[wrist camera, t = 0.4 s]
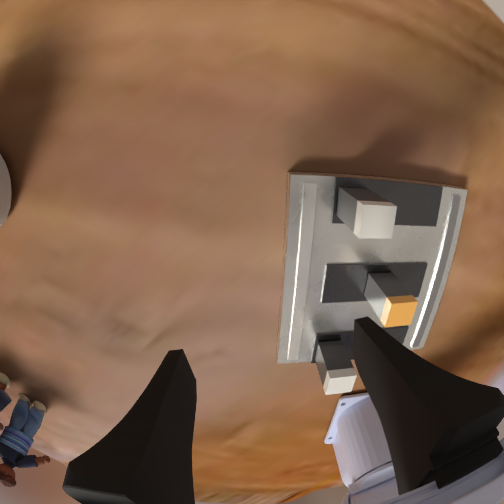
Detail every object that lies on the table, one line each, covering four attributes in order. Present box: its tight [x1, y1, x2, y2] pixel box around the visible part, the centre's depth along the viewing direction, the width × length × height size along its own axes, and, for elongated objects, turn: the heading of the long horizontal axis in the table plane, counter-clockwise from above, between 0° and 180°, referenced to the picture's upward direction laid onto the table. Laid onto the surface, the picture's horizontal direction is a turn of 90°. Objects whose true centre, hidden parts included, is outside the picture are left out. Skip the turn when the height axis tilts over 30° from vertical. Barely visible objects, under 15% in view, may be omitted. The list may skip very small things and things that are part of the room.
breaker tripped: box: [364, 273, 418, 328], centre depth 19 cm, size 2×2×4 cm
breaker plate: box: [276, 171, 467, 363], centre depth 22 cm, size 15×14×1 cm
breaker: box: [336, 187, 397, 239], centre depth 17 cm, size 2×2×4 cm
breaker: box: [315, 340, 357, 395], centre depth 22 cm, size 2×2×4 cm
